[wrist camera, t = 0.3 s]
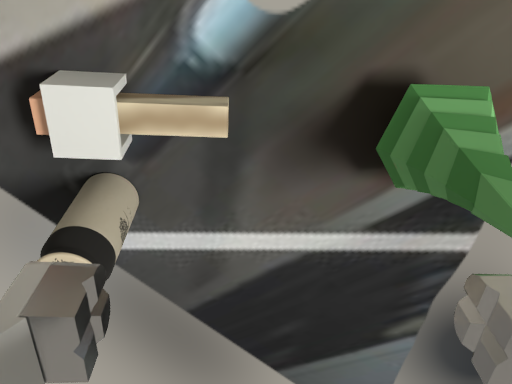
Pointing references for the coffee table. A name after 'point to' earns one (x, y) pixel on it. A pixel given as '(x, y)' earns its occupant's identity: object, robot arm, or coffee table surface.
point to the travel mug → (94, 223)
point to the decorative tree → (451, 150)
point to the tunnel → (84, 114)
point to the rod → (173, 115)
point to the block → (39, 114)
